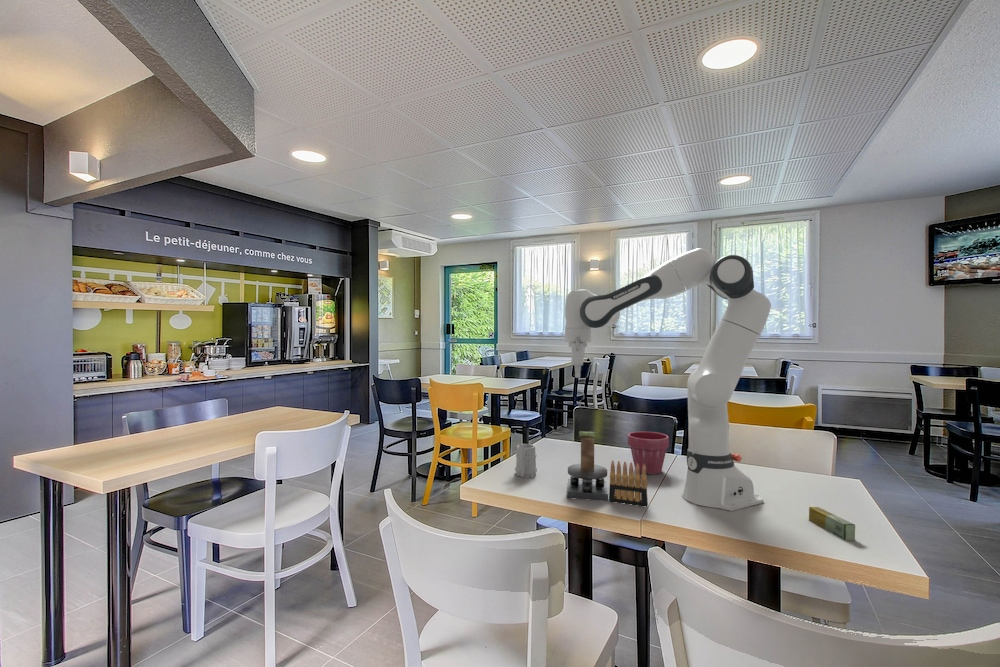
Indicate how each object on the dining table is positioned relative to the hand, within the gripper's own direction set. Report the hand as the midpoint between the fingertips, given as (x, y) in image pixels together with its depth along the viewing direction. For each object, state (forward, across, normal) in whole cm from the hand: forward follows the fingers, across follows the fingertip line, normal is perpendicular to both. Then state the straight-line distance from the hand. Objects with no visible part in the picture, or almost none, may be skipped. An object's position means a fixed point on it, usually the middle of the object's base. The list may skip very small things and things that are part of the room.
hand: (577, 377), depth 156 cm
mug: (+34, -2, +18) cm, 39 cm away
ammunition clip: (+34, -22, -15) cm, 43 cm away
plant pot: (+34, +13, -25) cm, 44 cm away
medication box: (+35, -30, -63) cm, 78 cm away
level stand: (+34, -15, -3) cm, 37 cm away
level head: (+28, -15, -3) cm, 32 cm away
